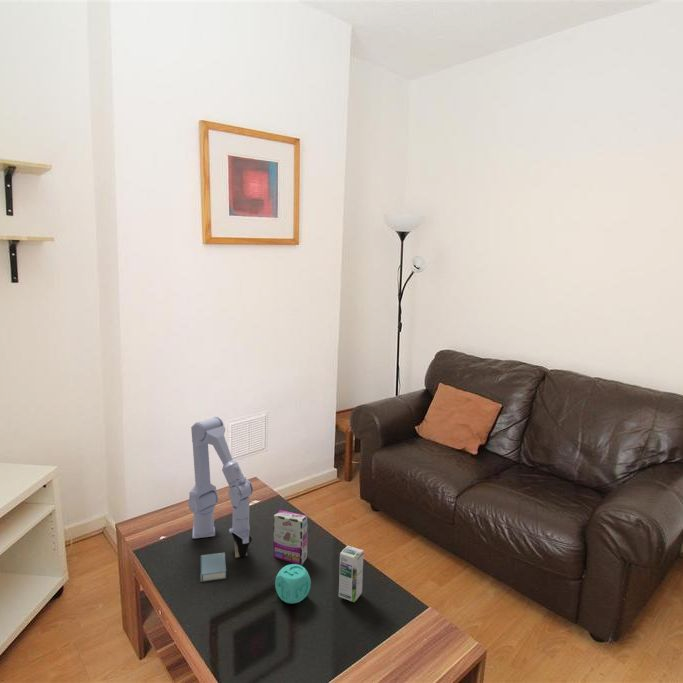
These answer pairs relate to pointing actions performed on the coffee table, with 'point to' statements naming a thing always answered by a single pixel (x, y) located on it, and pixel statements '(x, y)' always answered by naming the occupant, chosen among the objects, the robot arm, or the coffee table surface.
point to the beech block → (237, 551)
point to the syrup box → (351, 573)
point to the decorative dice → (292, 583)
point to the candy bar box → (290, 536)
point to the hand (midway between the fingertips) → (240, 552)
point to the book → (213, 567)
